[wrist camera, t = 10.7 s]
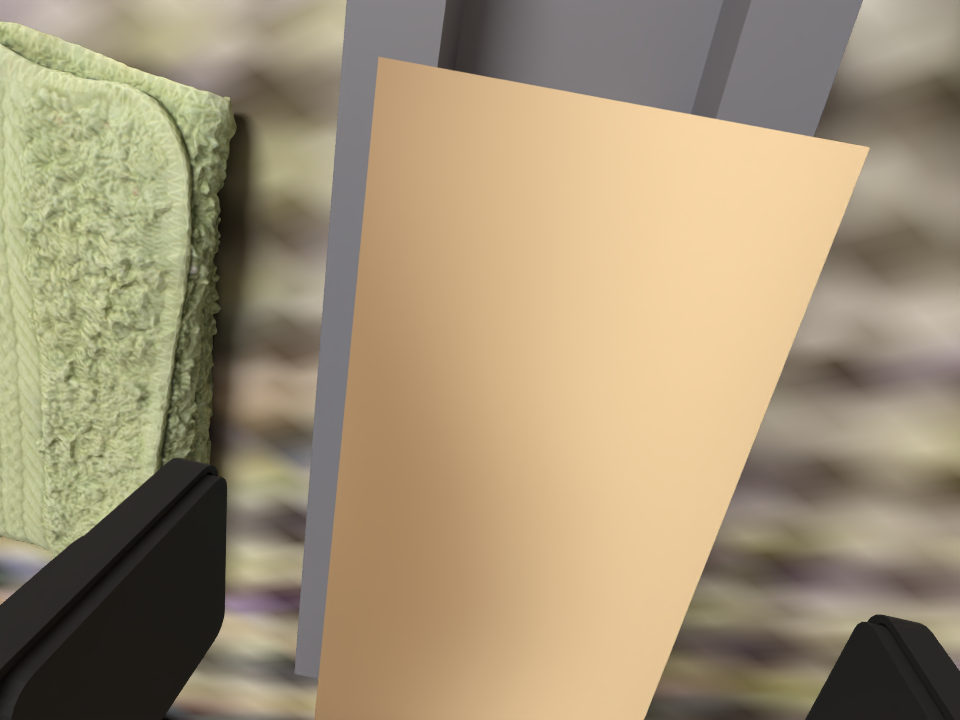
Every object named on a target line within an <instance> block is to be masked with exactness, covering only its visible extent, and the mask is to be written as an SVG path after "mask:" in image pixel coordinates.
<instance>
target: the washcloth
mask: <svg viewBox="0 0 960 720" xmlns="http://www.w3.org/2000/svg"><path fill="white" fill-rule="evenodd" d="M236 128H237V126H236V123H235V120H234V116H233V110H232V105H231V100H230V98H229V97H224V98H223V97H220V96H218V95H216V94H213V93H210V92H207V91H200V90H198V89H195V88H193V87H190V86H186V85H183V84H180V83H177V82H174V81H171V80H168V79H166V78H164V77H158V76H154V75H152V74H149V73H146V72H143V71H141V70H138V69H135V68H131V67H128V66H127V65H125V64H124V63H120V62H117V61H115V60H113V59H111V58H108V57H106V56H104V55H102V54H99V53H95V52H93V51H91V50H89V49H86V48H84V47H82V46H81V45H76V44H72V43H68V42H66V41H64V40H62V39H60V38H57V37H55V36H53V35H49V34H45V33H42V32H39V31H37V30H34V29H31V28H28V27H26V26H23V25H21V24H17V23H14V22H10V23H6V22H1V21H0V537H2V536H5V537H7V538H10V539H14V540H17V541H23V542H27V543H31V544H36V545H38V546H40V547H42V548H44V549H48V550H50V551H52V553H53V555H54V556H55V557H56V556H57V555H58V554H60V553H61V552H62V551H63V550H64V549H65V548H67V547H68V546H69V545H70V544H71V543H73V542H74V541H75V540H77V539H78V538H80V537H81V536H84V535H85V534H86V533H87V532H89V531H90V530H91V529H92V528H93V527H94V526H95V525H97V524H98V523H99V522H100V521H101V520H102V519H103V518H105V517H106V516H107V515H108V514H109V513H110V512H111V511H113V510H114V509H115V508H116V507H117V506H118V505H119V504H121V503H122V502H123V501H124V500H125V499H126V498H127V497H128V496H130V495H131V494H132V493H133V492H134V491H135V490H136V489H138V488H139V487H140V486H141V485H142V484H143V483H144V482H146V481H147V480H148V479H149V478H150V477H151V476H152V475H154V474H155V473H156V472H157V471H158V470H159V469H160V468H162V467H163V466H164V465H165V464H166V463H167V462H168V461H170V460H171V459H173V458H183V459H187V460H192V461H196V462H201V463H205V464H209V463H210V452H211V441H210V438H209V431H208V429H209V426H210V418H211V417H212V415H213V412H212V395H213V380H212V375H211V373H212V371H211V368H212V367H213V366H214V363H213V357H212V354H211V352H212V349H213V345H212V342H213V335H215V334H216V333H217V329H216V320H215V319H214V317H213V314H215V313H218V312H219V311H220V309H221V307H220V306H219V305H218V303H217V302H215V300H218V298H219V296H218V293H217V290H216V289H215V287H216V285H215V283H216V282H217V281H218V280H219V276H218V275H216V273H215V271H216V269H217V267H216V266H215V265H214V264H213V258H214V256H215V254H216V253H217V251H218V245H219V243H220V241H219V238H220V236H221V235H220V233H219V231H218V229H217V228H218V224H219V223H220V221H221V218H219V217H218V215H219V214H220V206H219V198H218V196H217V193H218V192H219V191H220V190H221V189H222V188H223V186H224V182H223V181H224V180H225V178H226V172H225V169H226V161H227V159H228V156H229V143H230V139H231V138H232V137H233V136H234V135H235V131H236Z"/></svg>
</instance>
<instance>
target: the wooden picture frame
mask: <svg viewBox="0 0 960 720" xmlns="http://www.w3.org/2000/svg"><path fill="white" fill-rule="evenodd" d="M869 149H870V147H865V146H859V145H854V144H848V143H843V142H838V141H832V140H827V139H821V138H816V137H810V136H805V135H800V134H794V133H789V132H783V131H778V130H773V129H767V128H762V127H756V126H751V125H746V124H740V123H735V122H729V121H724V120H719V119H713V118H708V117H702V116H697V115H691V114H686V113H681V112H675V111H670V110H664V109H659V108H654V107H648V106H643V105H637V104H632V103H627V102H621V101H616V100H610V99H605V98H599V97H594V96H589V95H583V94H578V93H572V92H567V91H562V90H556V89H551V88H545V87H540V86H535V85H529V84H524V83H518V82H513V81H508V80H502V79H497V78H491V77H486V76H480V75H475V74H470V73H464V72H459V71H453V70H448V69H443V68H437V67H432V66H426V65H421V64H416V63H410V62H405V61H399V60H394V59H389V58H383V57H378V68H377V78H376V88H375V99H374V109H373V119H372V130H371V140H370V151H369V161H368V171H367V182H366V192H365V202H364V213H363V223H362V233H361V244H360V254H359V264H358V275H357V285H356V296H355V306H354V316H353V327H352V337H351V347H350V358H349V368H348V378H347V389H346V399H345V410H344V420H343V430H342V441H341V451H340V461H339V472H338V482H337V492H336V503H335V513H334V524H333V534H332V544H331V555H330V565H329V575H328V586H327V596H326V606H325V617H324V627H323V638H322V648H321V658H320V669H319V679H318V689H317V700H316V710H315V720H644V718H645V716H646V713H647V711H648V708H649V706H650V703H651V701H652V698H653V696H654V693H655V691H656V688H657V686H658V683H659V680H660V678H661V675H662V673H663V670H664V668H665V665H666V663H667V660H668V658H669V655H670V653H671V650H672V648H673V645H674V642H675V640H676V637H677V635H678V632H679V630H680V627H681V625H682V622H683V620H684V617H685V615H686V612H687V610H688V607H689V605H690V602H691V599H692V597H693V594H694V592H695V589H696V587H697V584H698V582H699V579H700V577H701V574H702V572H703V569H704V567H705V564H706V561H707V559H708V556H709V554H710V551H711V549H712V546H713V544H714V541H715V539H716V536H717V534H718V531H719V529H720V526H721V524H722V521H723V518H724V516H725V513H726V511H727V508H728V506H729V503H730V501H731V498H732V496H733V493H734V491H735V488H736V486H737V483H738V481H739V478H740V475H741V473H742V470H743V468H744V465H745V463H746V460H747V458H748V455H749V453H750V450H751V448H752V445H753V443H754V440H755V437H756V435H757V432H758V430H759V427H760V425H761V422H762V420H763V417H764V415H765V412H766V410H767V407H768V405H769V402H770V400H771V397H772V394H773V392H774V389H775V387H776V384H777V382H778V379H779V377H780V374H781V372H782V369H783V367H784V364H785V362H786V359H787V356H788V354H789V351H790V349H791V346H792V344H793V341H794V339H795V336H796V334H797V331H798V329H799V326H800V324H801V321H802V319H803V316H804V313H805V311H806V308H807V306H808V303H809V301H810V298H811V296H812V293H813V291H814V288H815V286H816V283H817V281H818V278H819V276H820V273H821V270H822V268H823V265H824V263H825V260H826V258H827V255H828V253H829V250H830V248H831V245H832V243H833V240H834V238H835V235H836V232H837V230H838V227H839V225H840V222H841V220H842V217H843V215H844V212H845V210H846V207H847V205H848V202H849V200H850V197H851V195H852V192H853V189H854V187H855V184H856V182H857V179H858V177H859V174H860V172H861V169H862V167H863V164H864V162H865V159H866V157H867V154H868V151H869Z"/></svg>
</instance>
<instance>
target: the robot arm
mask: <svg viewBox="0 0 960 720" xmlns="http://www.w3.org/2000/svg"><path fill="white" fill-rule="evenodd" d="M226 510H227V482H226V480H225V479H224V478H222V477H218V472H217V470H216V467H214V466H213V465H210V464H205V463H201V462H196V461H192V460H187V459H183V458H173V459H171V460H170V461H168V462H167V463H166V464H165V465H164V466H163V467H162V468H160V469H159V470H158V471H157V472H156V473H155V474H154V475H152V476H151V477H150V478H149V479H148V480H147V481H146V482H144V483H143V484H142V485H141V486H140V487H139V488H138V489H136V490H135V491H134V492H133V493H132V494H131V495H130V496H128V497H127V498H126V499H125V500H124V501H123V502H122V503H121V504H119V505H118V506H117V507H116V508H115V509H114V510H113V511H111V512H110V513H109V514H108V515H107V516H106V517H105V518H103V519H102V520H101V521H100V522H99V523H98V524H97V525H95V526H94V527H93V528H92V529H91V530H90V531H89V532H87V533H86V534H85V535H84V536H81V537H80V538H78V539H77V540H75V541H74V542H73V543H71V544H70V545H69V546H68V547H67V548H65V549H64V550H63V551H62V552H61V553H60V554H58V555H57V556H56V557H55V558H54V559H53V560H52V561H50V562H49V563H48V564H47V565H46V566H45V567H44V568H42V569H41V570H40V571H39V572H38V573H37V574H36V575H34V576H33V577H32V578H31V579H30V580H29V581H27V582H26V583H25V584H24V585H23V586H22V587H21V588H19V589H18V590H17V591H16V592H15V593H14V594H13V595H11V596H10V597H9V598H8V599H7V600H6V601H5V602H3V603H2V604H1V605H0V720H162V719H163V717H164V716H165V714H166V713H167V711H168V710H169V708H170V707H171V705H172V704H173V702H174V701H175V699H176V698H177V696H178V695H179V693H180V692H181V690H182V689H183V687H184V686H185V684H186V683H187V681H188V680H189V678H190V677H191V675H192V674H193V672H194V671H195V669H196V668H197V666H198V665H199V663H200V662H201V660H202V658H203V657H204V655H205V654H206V652H207V651H208V649H209V648H210V646H211V645H212V643H213V642H214V640H215V639H216V637H217V635H218V633H219V631H220V629H221V626H222V623H223V619H224V613H225V566H226ZM805 720H960V671H959V670H958V668H957V667H956V665H955V664H954V663H953V661H952V660H951V658H950V657H949V656H948V654H947V653H946V651H945V650H944V649H943V647H942V646H941V644H940V643H939V642H938V640H937V639H936V637H935V636H934V634H933V633H932V632H931V631H930V630H929V629H928V628H927V627H926V626H924V625H922V624H920V623H917V622H912V621H908V620H903V619H899V618H894V617H890V616H885V615H874V616H873V617H871V618H870V619H869V620H868V622H861V623H859V624H858V625H857V626H856V627H855V629H854V631H853V632H852V634H851V636H850V638H849V640H848V642H847V643H846V645H845V647H844V649H843V651H842V653H841V655H840V656H839V658H838V660H837V662H836V664H835V666H834V668H833V669H832V671H831V673H830V675H829V677H828V679H827V680H826V682H825V684H824V686H823V688H822V690H821V692H820V693H819V695H818V697H817V699H816V701H815V703H814V705H813V706H812V708H811V710H810V712H809V714H808V716H807V718H806V719H805Z"/></svg>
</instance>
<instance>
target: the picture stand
mask: <svg viewBox="0 0 960 720" xmlns="http://www.w3.org/2000/svg"><path fill="white" fill-rule="evenodd" d="M862 1H863V0H347V5H346V17H345V30H344V43H343V56H342V69H341V82H340V95H339V107H338V120H337V133H336V146H335V159H334V172H333V185H332V198H331V210H330V223H329V236H328V249H327V262H326V275H325V288H324V301H323V313H322V326H321V339H320V352H319V365H318V378H317V391H316V404H315V416H314V429H313V442H312V455H311V468H310V481H309V494H308V507H307V519H306V532H305V545H304V558H303V571H302V584H301V597H300V609H299V622H298V635H297V648H296V661H295V674H298V675H303V676H307V677H312V678H317V679H319V669H320V658H321V648H322V638H323V627H324V617H325V606H326V596H327V586H328V575H329V565H330V555H331V544H332V534H333V524H334V513H335V503H336V492H337V482H338V472H339V461H340V451H341V441H342V430H343V420H344V410H345V399H346V389H347V378H348V368H349V358H350V347H351V337H352V327H353V316H354V306H355V296H356V285H357V275H358V264H359V254H360V244H361V233H362V223H363V213H364V202H365V192H366V182H367V171H368V161H369V151H370V140H371V130H372V119H373V109H374V99H375V88H376V78H377V68H378V57H383V58H389V59H394V60H399V61H405V62H410V63H416V64H421V65H426V66H432V67H437V68H443V69H448V70H453V71H459V72H464V73H470V74H475V75H480V76H486V77H491V78H497V79H502V80H508V81H513V82H518V83H524V84H529V85H535V86H540V87H545V88H551V89H556V90H562V91H567V92H572V93H578V94H583V95H589V96H594V97H599V98H605V99H610V100H616V101H621V102H627V103H632V104H637V105H643V106H648V107H654V108H659V109H664V110H670V111H675V112H681V113H686V114H691V115H697V116H702V117H708V118H713V119H719V120H724V121H729V122H735V123H740V124H746V125H751V126H756V127H762V128H767V129H773V130H778V131H783V132H789V133H794V134H800V135H805V136H810V137H814V134H815V132H816V129H817V126H818V123H819V120H820V118H821V115H822V112H823V109H824V107H825V104H826V101H827V98H828V95H829V93H830V90H831V87H832V84H833V82H834V79H835V76H836V73H837V71H838V68H839V65H840V62H841V59H842V57H843V54H844V51H845V48H846V46H847V43H848V40H849V37H850V35H851V32H852V29H853V26H854V23H855V21H856V18H857V15H858V12H859V10H860V7H861V4H862Z"/></svg>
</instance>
